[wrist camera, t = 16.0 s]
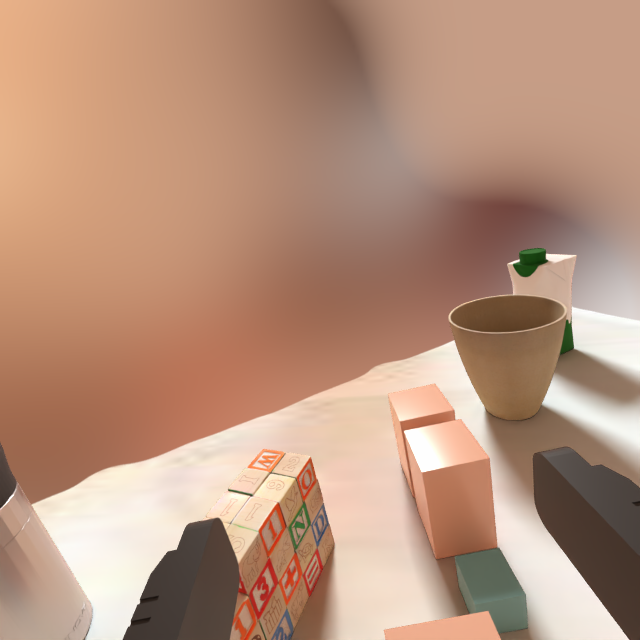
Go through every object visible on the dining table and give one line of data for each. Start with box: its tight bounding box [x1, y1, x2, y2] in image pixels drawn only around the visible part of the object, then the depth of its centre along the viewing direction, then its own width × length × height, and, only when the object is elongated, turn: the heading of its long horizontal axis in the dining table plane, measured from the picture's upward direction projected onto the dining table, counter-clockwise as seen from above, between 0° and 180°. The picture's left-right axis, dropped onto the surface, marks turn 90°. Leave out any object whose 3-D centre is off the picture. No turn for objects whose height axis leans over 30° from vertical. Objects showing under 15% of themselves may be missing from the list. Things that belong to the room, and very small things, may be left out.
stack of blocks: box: [202, 449, 334, 640], centre depth 31 cm, size 21×6×12 cm, turn 154°
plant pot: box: [448, 295, 567, 420], centre depth 52 cm, size 15×15×16 cm
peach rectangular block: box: [388, 384, 455, 497], centre depth 44 cm, size 6×6×11 cm
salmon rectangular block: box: [404, 419, 497, 559], centre depth 37 cm, size 6×6×11 cm
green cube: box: [455, 548, 528, 634], centre depth 30 cm, size 4×4×4 cm
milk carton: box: [507, 248, 577, 355], centre depth 66 cm, size 9×9×20 cm
